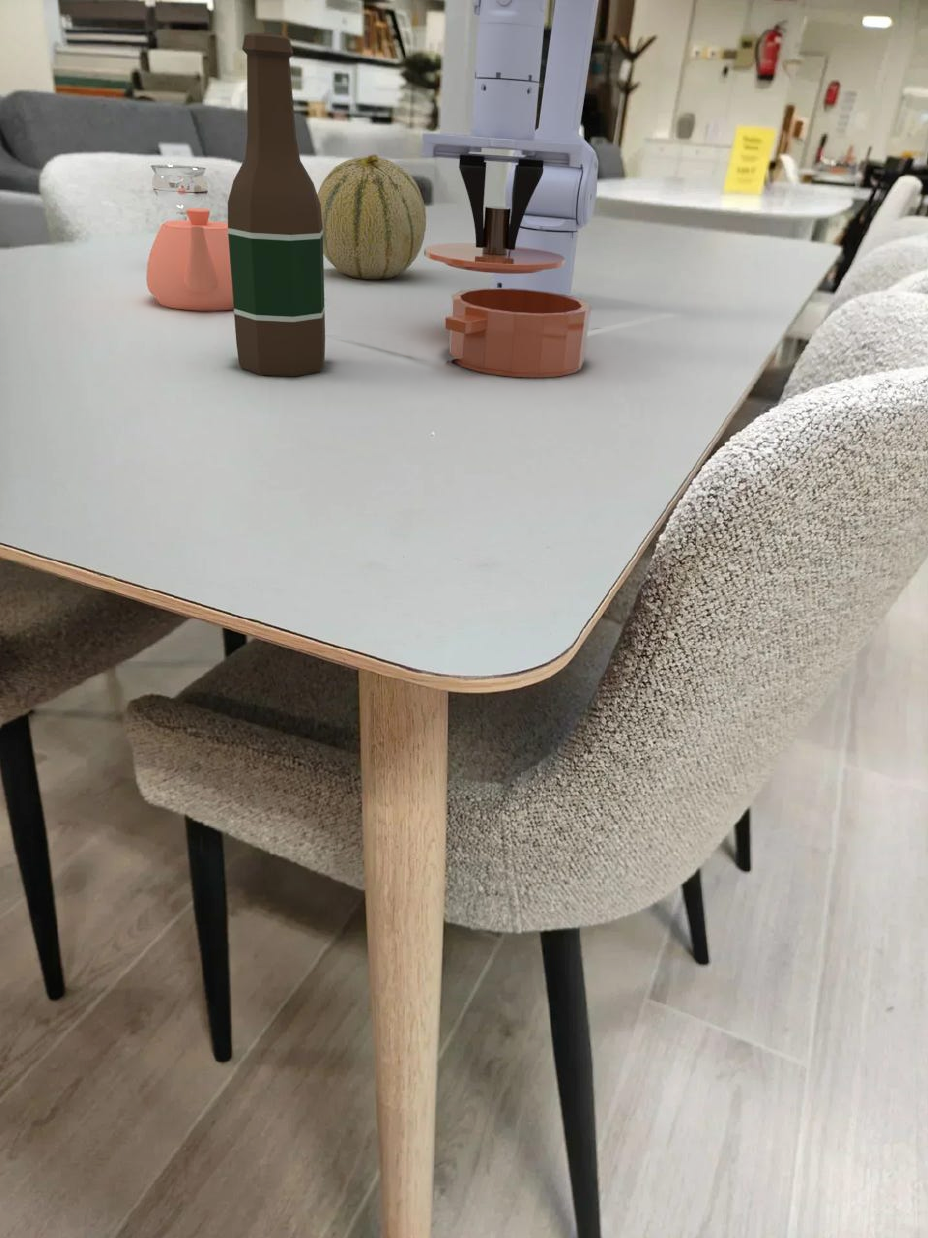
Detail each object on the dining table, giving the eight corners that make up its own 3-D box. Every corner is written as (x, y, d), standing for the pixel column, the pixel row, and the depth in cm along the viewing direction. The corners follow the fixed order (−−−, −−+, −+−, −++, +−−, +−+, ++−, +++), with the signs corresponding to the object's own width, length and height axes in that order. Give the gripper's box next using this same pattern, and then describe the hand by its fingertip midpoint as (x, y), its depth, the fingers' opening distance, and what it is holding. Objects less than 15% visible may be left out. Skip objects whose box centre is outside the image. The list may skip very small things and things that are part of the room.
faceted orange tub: (401, 360, 79) (403, 298, 76) (521, 335, 91) (526, 281, 88) (508, 391, 72) (514, 324, 69) (622, 359, 84) (631, 302, 82)
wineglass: (151, 270, 111) (139, 166, 105) (175, 263, 117) (165, 163, 111) (201, 274, 111) (192, 170, 105) (222, 267, 117) (215, 167, 110)
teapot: (259, 289, 105) (254, 202, 100) (263, 321, 90) (257, 221, 85) (155, 286, 102) (144, 198, 97) (140, 319, 87) (127, 216, 82)
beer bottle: (343, 362, 77) (339, 41, 65) (301, 382, 71) (288, 30, 59) (266, 350, 79) (248, 37, 67) (219, 369, 73) (190, 26, 61)
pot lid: (394, 259, 83) (395, 201, 80) (485, 251, 92) (488, 198, 89) (504, 281, 75) (509, 218, 73) (591, 270, 84) (598, 213, 82)
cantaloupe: (394, 269, 124) (396, 150, 116) (444, 287, 113) (450, 159, 105) (297, 271, 117) (292, 146, 109) (340, 292, 106) (338, 154, 99)
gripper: (421, 73, 72) (416, 247, 79) (593, 85, 72) (573, 258, 79) (426, 76, 78) (421, 238, 85) (585, 87, 78) (567, 248, 85)
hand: (494, 247), depth 83 cm, fingers closed on pot lid, 2 cm apart
